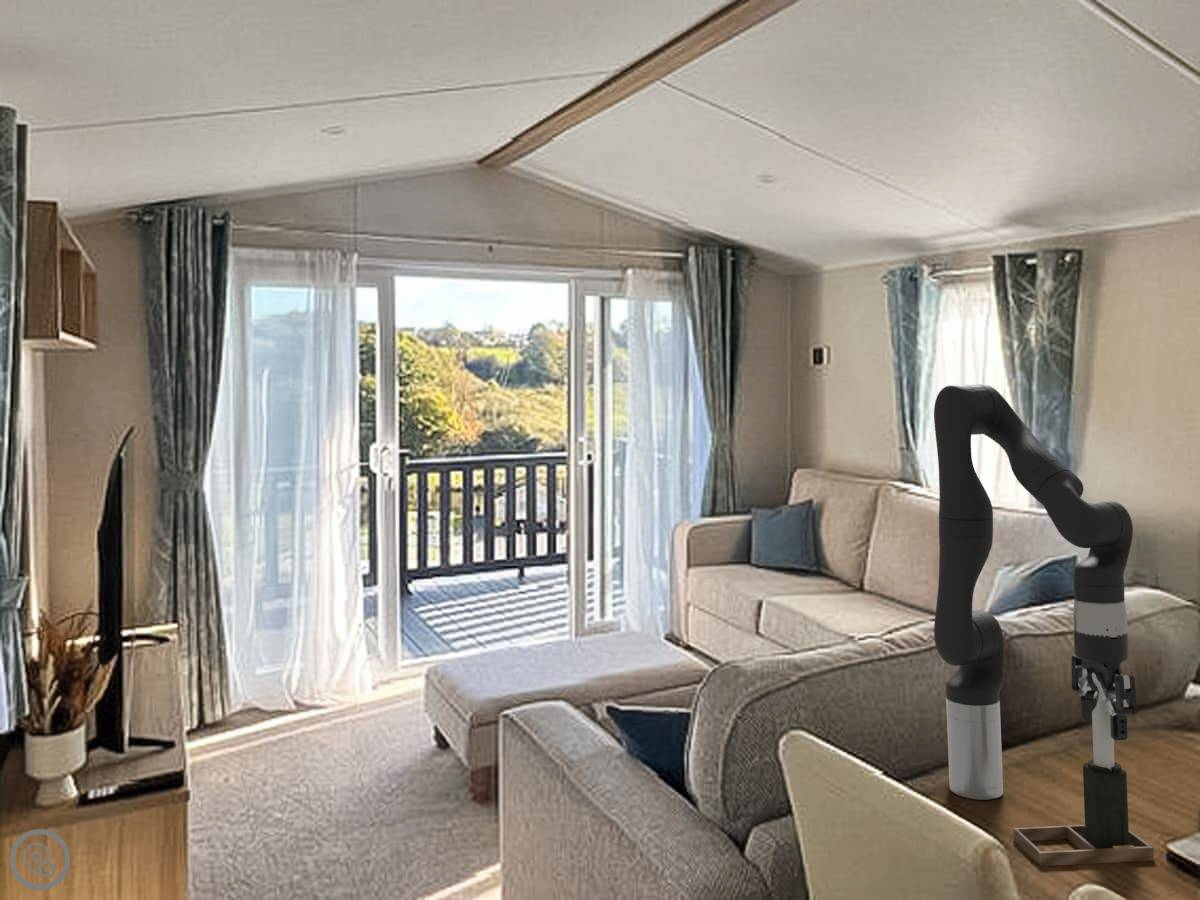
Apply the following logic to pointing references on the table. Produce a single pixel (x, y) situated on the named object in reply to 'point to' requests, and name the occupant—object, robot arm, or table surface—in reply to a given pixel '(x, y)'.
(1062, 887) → the table surface
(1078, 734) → the table surface
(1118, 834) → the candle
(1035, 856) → the divided wooden tray
